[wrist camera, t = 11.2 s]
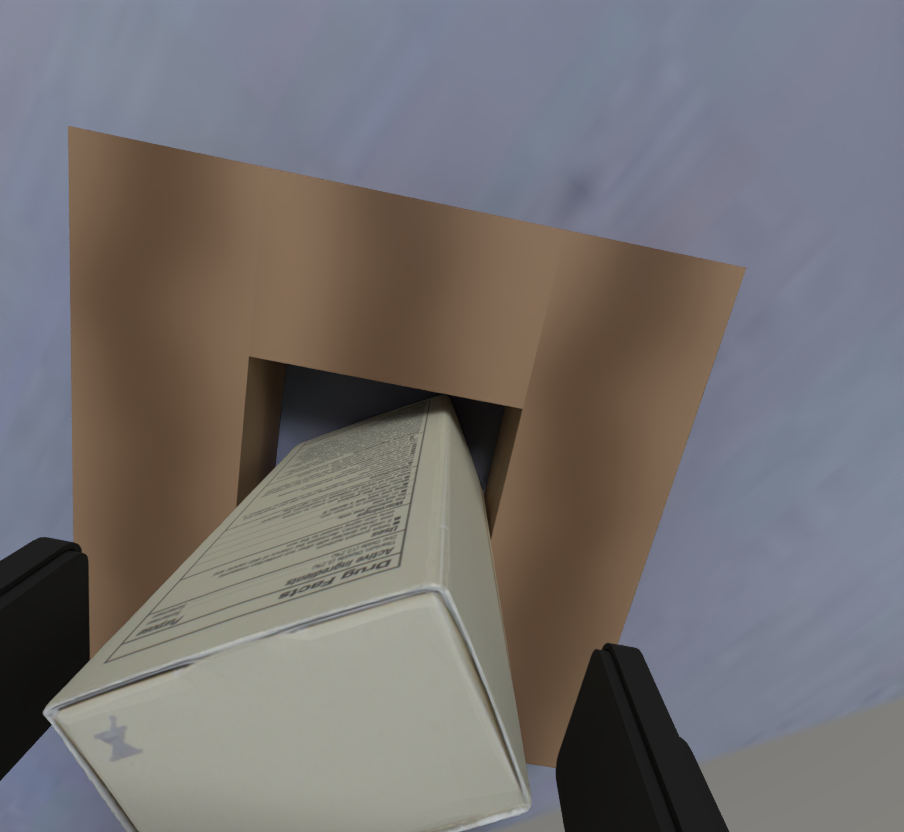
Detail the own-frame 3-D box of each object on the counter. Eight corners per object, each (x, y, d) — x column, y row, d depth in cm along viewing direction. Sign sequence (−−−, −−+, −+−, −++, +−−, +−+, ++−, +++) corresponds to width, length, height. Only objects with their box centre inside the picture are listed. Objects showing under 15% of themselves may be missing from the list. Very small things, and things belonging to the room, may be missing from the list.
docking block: (688, 268, 17) (746, 267, 14) (556, 693, 22) (574, 770, 18) (149, 157, 16) (68, 126, 13) (137, 623, 21) (75, 690, 18)
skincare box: (339, 539, 20) (169, 922, 8) (292, 438, 19) (17, 713, 7) (490, 490, 19) (544, 828, 7) (452, 383, 18) (442, 584, 6)
